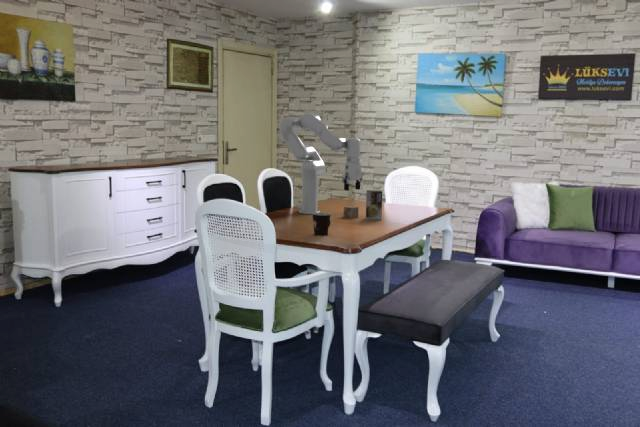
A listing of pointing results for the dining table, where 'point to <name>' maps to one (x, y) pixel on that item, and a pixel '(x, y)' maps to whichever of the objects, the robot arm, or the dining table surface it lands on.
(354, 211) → the walnut block
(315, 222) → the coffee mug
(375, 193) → the coffee box
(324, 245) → the dining table surface
